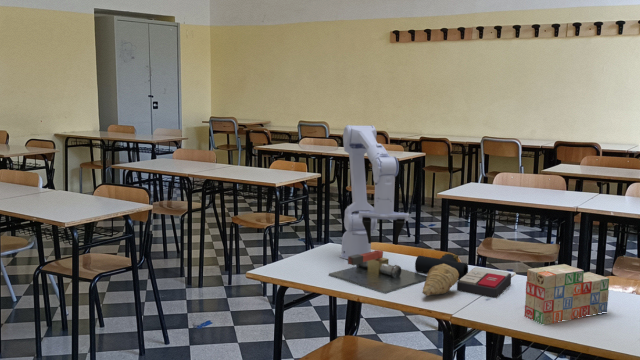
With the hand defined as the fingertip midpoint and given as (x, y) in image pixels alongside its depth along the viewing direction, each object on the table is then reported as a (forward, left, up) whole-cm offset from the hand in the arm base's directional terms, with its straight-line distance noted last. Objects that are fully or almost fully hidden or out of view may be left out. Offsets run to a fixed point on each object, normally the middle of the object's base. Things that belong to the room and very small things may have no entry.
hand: (382, 243), depth 177 cm
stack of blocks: (+51, +11, -11) cm, 53 cm away
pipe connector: (+9, +19, -11) cm, 24 cm away
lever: (-3, -4, -5) cm, 7 cm away
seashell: (+21, -1, -10) cm, 23 cm away
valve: (0, -1, -10) cm, 10 cm away
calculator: (+26, +15, -11) cm, 31 cm away
